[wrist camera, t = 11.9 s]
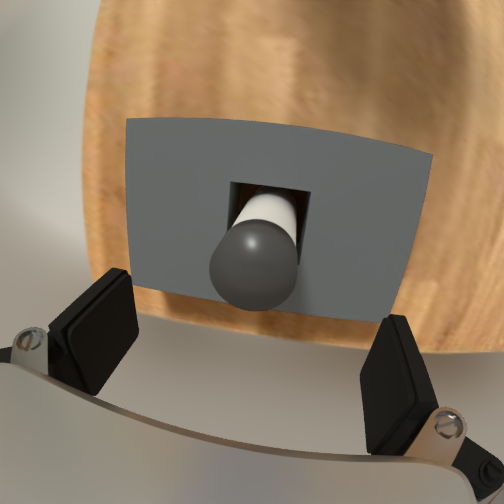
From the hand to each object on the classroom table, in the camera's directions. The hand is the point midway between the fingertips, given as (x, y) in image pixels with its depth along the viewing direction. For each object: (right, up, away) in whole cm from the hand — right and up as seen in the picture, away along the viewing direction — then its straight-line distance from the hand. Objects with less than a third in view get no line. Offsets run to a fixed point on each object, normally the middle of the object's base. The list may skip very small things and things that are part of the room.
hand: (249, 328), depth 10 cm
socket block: (+2, +6, +15) cm, 16 cm away
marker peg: (+2, +6, +15) cm, 16 cm away
